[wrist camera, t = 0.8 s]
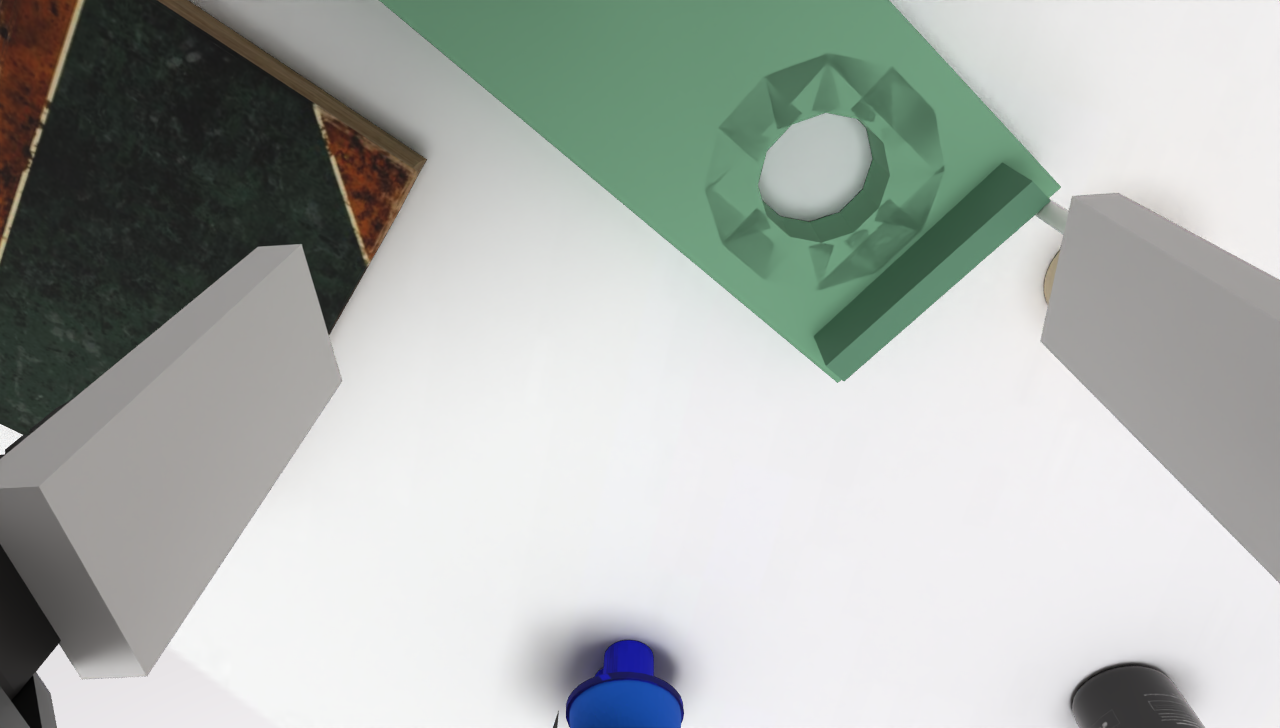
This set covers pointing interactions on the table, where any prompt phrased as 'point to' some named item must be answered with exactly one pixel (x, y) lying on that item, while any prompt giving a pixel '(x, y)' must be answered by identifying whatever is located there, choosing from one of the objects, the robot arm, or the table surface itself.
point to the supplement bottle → (1132, 701)
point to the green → (764, 144)
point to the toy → (625, 693)
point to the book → (161, 182)
